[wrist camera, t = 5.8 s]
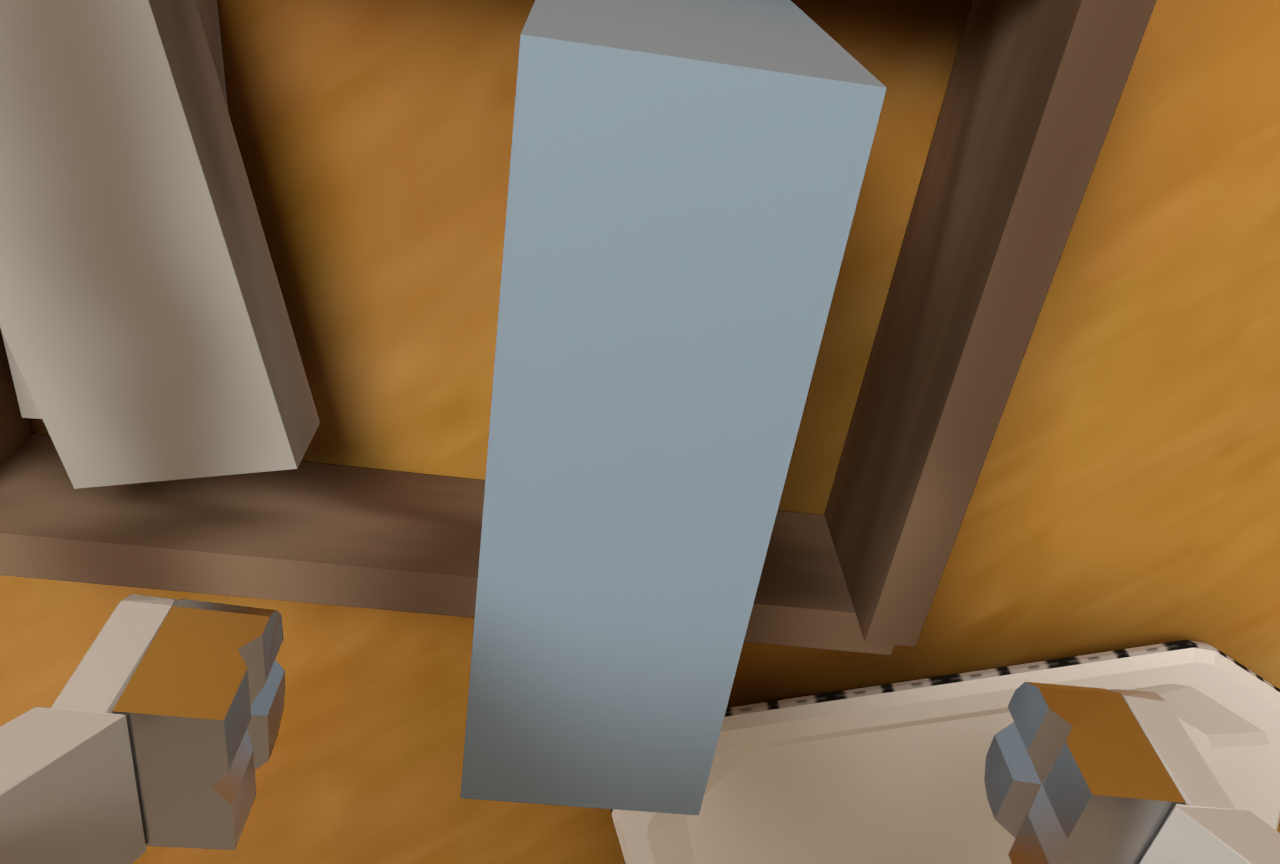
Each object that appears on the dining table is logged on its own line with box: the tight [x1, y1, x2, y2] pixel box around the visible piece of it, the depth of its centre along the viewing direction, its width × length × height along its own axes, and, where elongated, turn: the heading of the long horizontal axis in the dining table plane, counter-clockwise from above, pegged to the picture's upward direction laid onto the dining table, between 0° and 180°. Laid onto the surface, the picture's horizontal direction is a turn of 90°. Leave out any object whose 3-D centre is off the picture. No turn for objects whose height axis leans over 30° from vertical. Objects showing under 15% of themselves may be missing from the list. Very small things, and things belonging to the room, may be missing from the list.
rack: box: [0, 0, 1156, 655], centre depth 21 cm, size 23×16×5 cm
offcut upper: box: [0, 0, 320, 489], centre depth 20 cm, size 5×11×2 cm, turn 5°
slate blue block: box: [460, 0, 887, 815], centre depth 19 cm, size 4×12×11 cm, turn 172°
